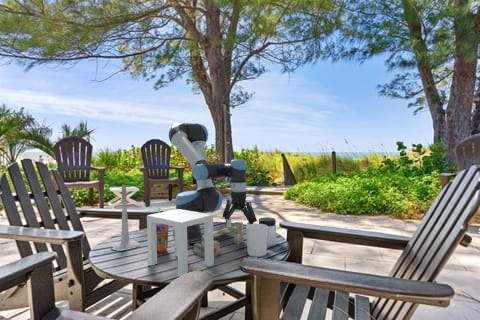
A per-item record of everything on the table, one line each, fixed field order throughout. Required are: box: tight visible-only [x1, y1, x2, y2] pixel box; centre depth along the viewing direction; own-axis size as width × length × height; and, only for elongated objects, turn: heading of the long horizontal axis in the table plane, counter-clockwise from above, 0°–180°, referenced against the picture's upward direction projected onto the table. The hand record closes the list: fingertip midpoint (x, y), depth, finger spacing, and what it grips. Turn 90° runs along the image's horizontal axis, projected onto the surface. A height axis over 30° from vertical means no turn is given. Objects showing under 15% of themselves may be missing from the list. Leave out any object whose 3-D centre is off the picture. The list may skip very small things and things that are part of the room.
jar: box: [258, 216, 277, 247], centre depth 145 cm, size 9×8×12 cm
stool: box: [146, 208, 215, 277], centre depth 119 cm, size 21×16×20 cm
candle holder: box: [245, 223, 268, 258], centre depth 131 cm, size 10×10×12 cm
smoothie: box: [156, 207, 170, 254], centre depth 136 cm, size 8×8×20 cm
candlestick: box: [111, 184, 140, 249], centre depth 143 cm, size 13×13×30 cm
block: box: [213, 240, 221, 255], centre depth 132 cm, size 5×5×5 cm
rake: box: [193, 221, 244, 260], centre depth 139 cm, size 26×12×10 cm, turn 141°
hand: (239, 233), depth 148 cm, fingers open, 13 cm apart
